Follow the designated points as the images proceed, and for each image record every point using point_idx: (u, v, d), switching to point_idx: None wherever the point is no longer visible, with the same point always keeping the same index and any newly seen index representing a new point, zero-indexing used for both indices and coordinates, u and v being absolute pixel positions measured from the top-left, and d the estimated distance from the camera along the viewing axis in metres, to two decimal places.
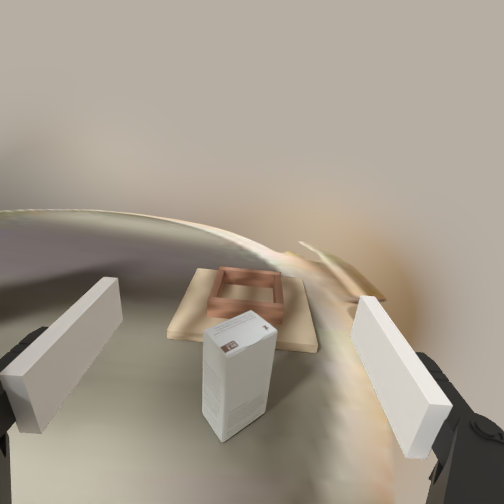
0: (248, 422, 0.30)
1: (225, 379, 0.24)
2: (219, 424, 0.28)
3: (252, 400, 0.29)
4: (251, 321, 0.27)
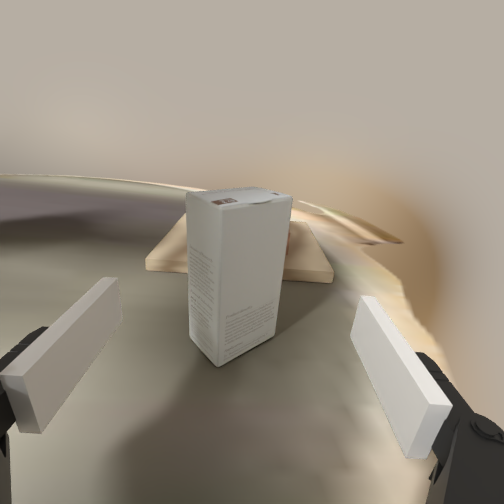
0: (253, 343, 0.22)
1: (219, 252, 0.16)
2: (213, 338, 0.19)
3: (258, 307, 0.21)
4: (254, 190, 0.19)
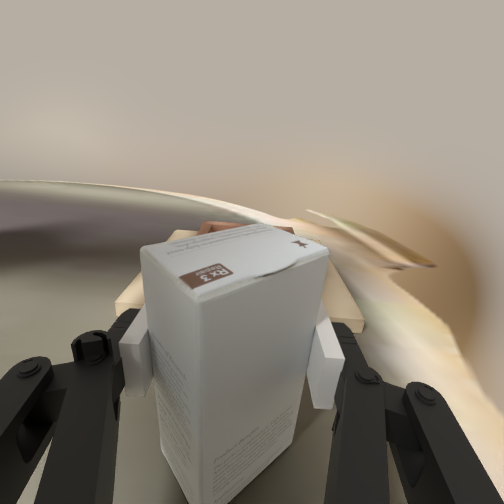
0: (259, 470, 0.14)
1: (198, 373, 0.08)
2: (193, 487, 0.11)
3: (269, 423, 0.13)
4: (262, 235, 0.11)
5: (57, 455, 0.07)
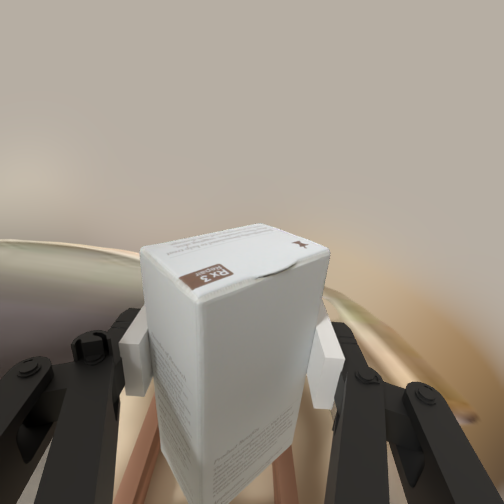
0: (260, 470, 0.14)
1: (198, 374, 0.08)
2: (193, 488, 0.11)
3: (269, 423, 0.12)
4: (263, 235, 0.11)
5: (57, 455, 0.07)
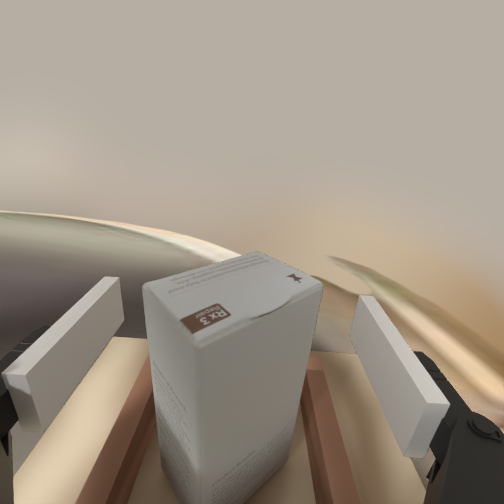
0: (256, 488, 0.14)
1: (197, 409, 0.09)
2: None
3: (265, 445, 0.13)
4: (259, 268, 0.12)
5: None
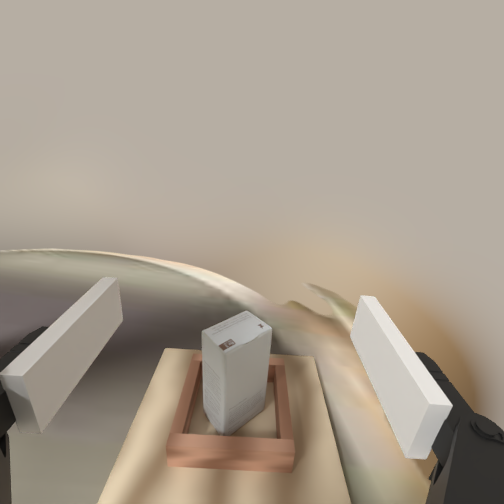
0: (248, 419, 0.31)
1: (224, 376, 0.26)
2: (220, 421, 0.29)
3: (251, 396, 0.30)
4: (247, 321, 0.29)
5: None
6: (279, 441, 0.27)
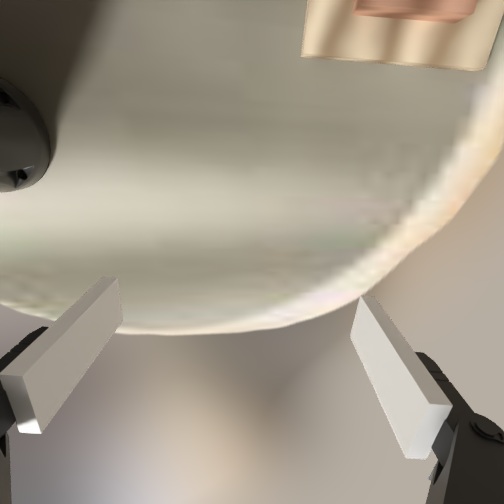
0: None
1: None
2: None
3: None
4: None
5: None
6: (464, 0, 0.29)
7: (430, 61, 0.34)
